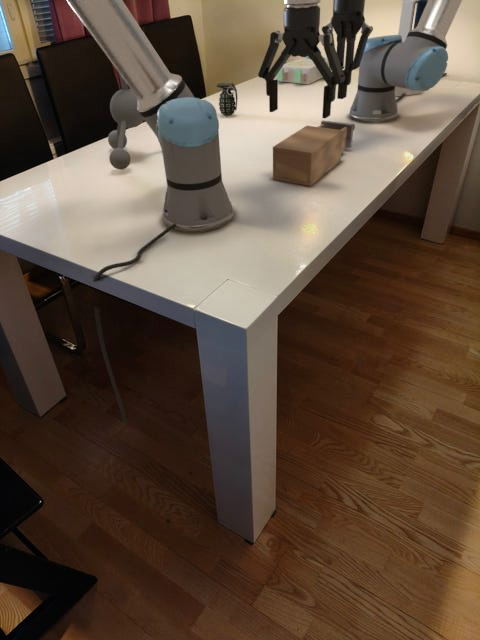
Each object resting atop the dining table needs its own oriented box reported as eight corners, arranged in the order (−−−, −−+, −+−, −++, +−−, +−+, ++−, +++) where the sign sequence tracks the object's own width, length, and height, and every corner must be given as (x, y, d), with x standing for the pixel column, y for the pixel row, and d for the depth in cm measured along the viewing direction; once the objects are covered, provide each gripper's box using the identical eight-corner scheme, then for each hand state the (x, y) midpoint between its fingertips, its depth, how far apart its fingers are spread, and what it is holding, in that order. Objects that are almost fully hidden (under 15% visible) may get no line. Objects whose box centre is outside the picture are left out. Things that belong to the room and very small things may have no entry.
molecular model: (192, 161, 135) (179, 37, 117) (113, 175, 129) (86, 48, 111) (170, 137, 153) (156, 27, 134) (100, 149, 147) (74, 35, 128)
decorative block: (298, 54, 217) (339, 57, 208) (298, 70, 221) (338, 74, 211) (267, 65, 201) (310, 69, 191) (267, 82, 205) (309, 87, 195)
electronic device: (392, 97, 177) (405, -1, 159) (382, 92, 183) (394, -3, 165) (423, 93, 180) (439, -4, 161) (412, 88, 185) (426, -6, 167)
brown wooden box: (305, 155, 135) (306, 125, 130) (340, 161, 130) (343, 130, 125) (272, 179, 122) (272, 146, 118) (310, 186, 118) (311, 152, 113)
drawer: (330, 136, 144) (331, 114, 140) (359, 140, 140) (362, 118, 136) (293, 162, 128) (294, 138, 125) (325, 168, 124) (327, 143, 120)
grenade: (217, 117, 168) (214, 86, 162) (221, 112, 172) (219, 82, 166) (235, 117, 166) (233, 86, 160) (239, 113, 171) (238, 82, 165)
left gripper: (366, 3, 97) (356, 114, 110) (258, 3, 108) (260, 104, 121) (352, 8, 92) (343, 124, 105) (241, 7, 103) (245, 112, 116)
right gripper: (381, -9, 117) (369, 96, 131) (330, -9, 122) (325, 92, 137) (370, -6, 112) (359, 103, 126) (318, -6, 118) (313, 98, 132)
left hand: (299, 113), depth 113 cm, fingers open, 13 cm apart
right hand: (341, 97), depth 132 cm, fingers closed
